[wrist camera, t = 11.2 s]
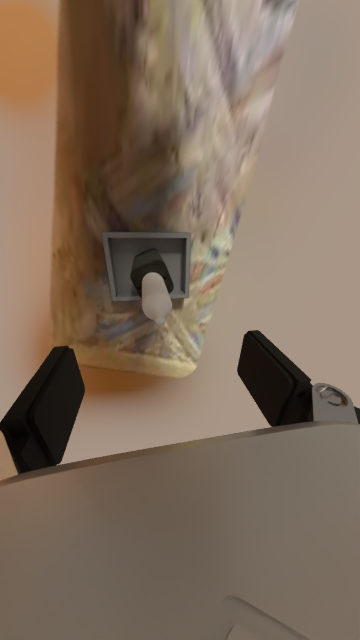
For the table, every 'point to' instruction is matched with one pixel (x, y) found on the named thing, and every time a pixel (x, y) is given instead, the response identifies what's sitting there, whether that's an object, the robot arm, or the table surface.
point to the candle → (152, 285)
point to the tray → (129, 244)
